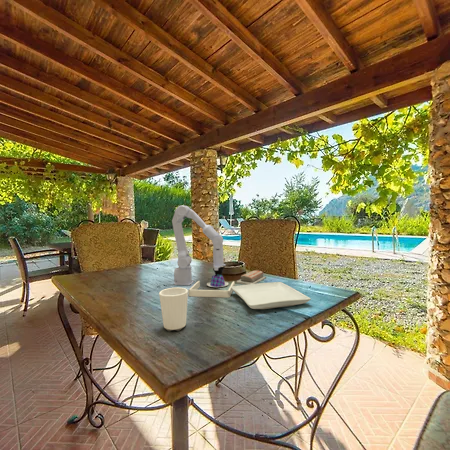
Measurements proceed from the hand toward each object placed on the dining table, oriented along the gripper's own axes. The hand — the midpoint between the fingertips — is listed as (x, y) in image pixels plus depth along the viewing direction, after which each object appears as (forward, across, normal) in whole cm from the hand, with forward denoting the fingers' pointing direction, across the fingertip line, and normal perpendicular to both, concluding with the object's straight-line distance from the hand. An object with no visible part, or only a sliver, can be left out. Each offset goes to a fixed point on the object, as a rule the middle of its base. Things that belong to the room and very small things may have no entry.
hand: (219, 280), depth 146 cm
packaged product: (+2, +7, -18) cm, 19 cm away
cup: (+2, -57, +4) cm, 58 cm away
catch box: (+1, -15, 0) cm, 15 cm away
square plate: (+2, -26, -27) cm, 37 cm away
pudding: (+2, -5, 0) cm, 5 cm away
